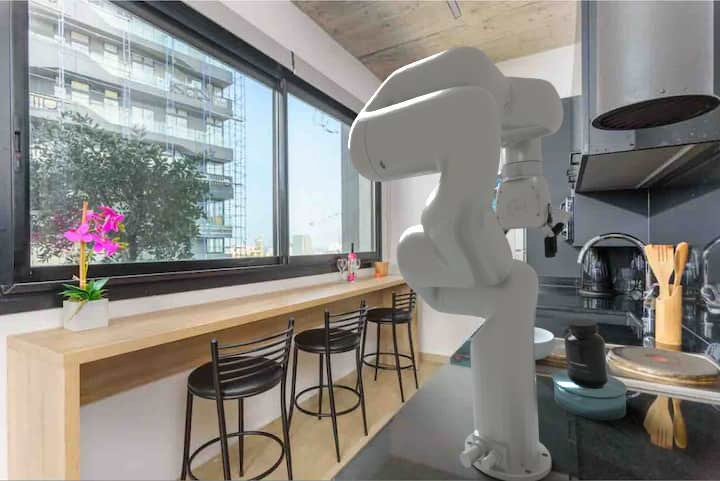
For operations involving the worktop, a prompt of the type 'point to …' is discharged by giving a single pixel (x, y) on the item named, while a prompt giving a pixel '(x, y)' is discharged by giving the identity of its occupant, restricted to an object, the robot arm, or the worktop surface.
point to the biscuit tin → (591, 398)
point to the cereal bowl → (543, 343)
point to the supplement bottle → (585, 354)
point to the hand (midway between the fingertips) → (525, 256)
